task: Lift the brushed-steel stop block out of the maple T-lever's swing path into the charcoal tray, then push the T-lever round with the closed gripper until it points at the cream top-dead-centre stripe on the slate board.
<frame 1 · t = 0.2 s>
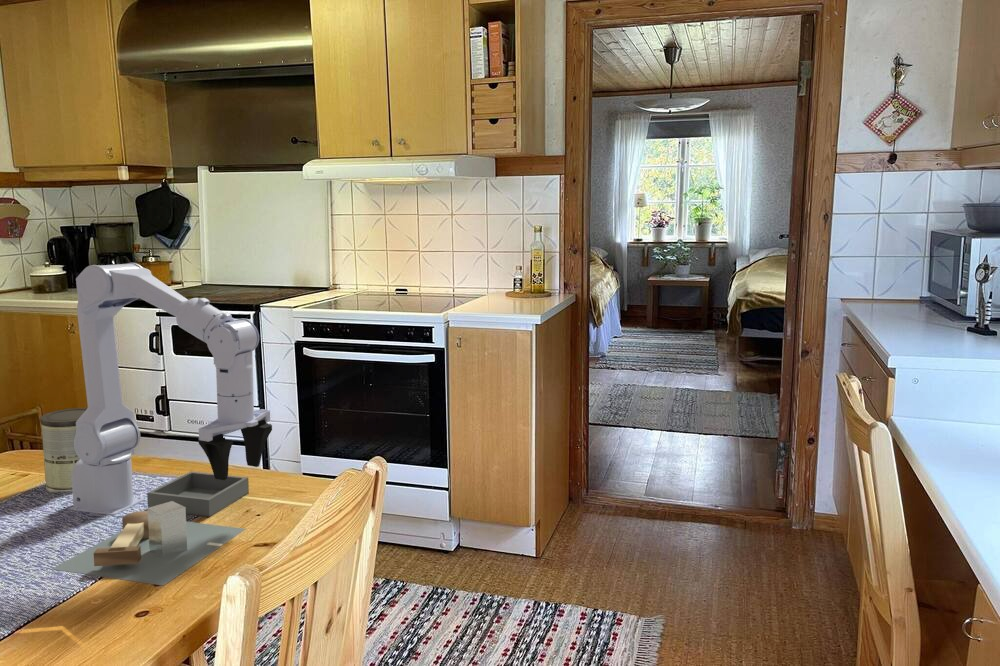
hand: (237, 472, 128), 10 cm above the table, fingers open, 7 cm apart
tray: (200, 503, 141), on the table
crank lever: (130, 538, 120), point 2 cm above the table, hinge at -65.0°
stop block: (168, 550, 120), resting on crank board
coffee can: (75, 485, 149), on the table
crank board: (155, 549, 121), on the table
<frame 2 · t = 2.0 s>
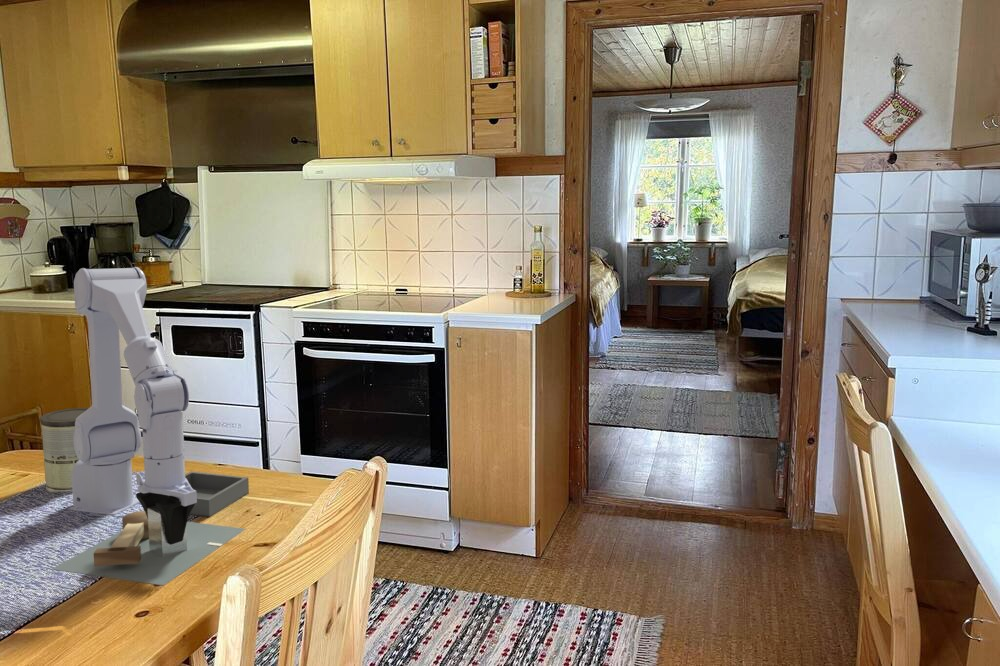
hand: (167, 538, 119), 2 cm above the table, fingers closed on stop block, 4 cm apart
stop block: (168, 550, 120), resting on crank board, touching gripper
everything else where it was.
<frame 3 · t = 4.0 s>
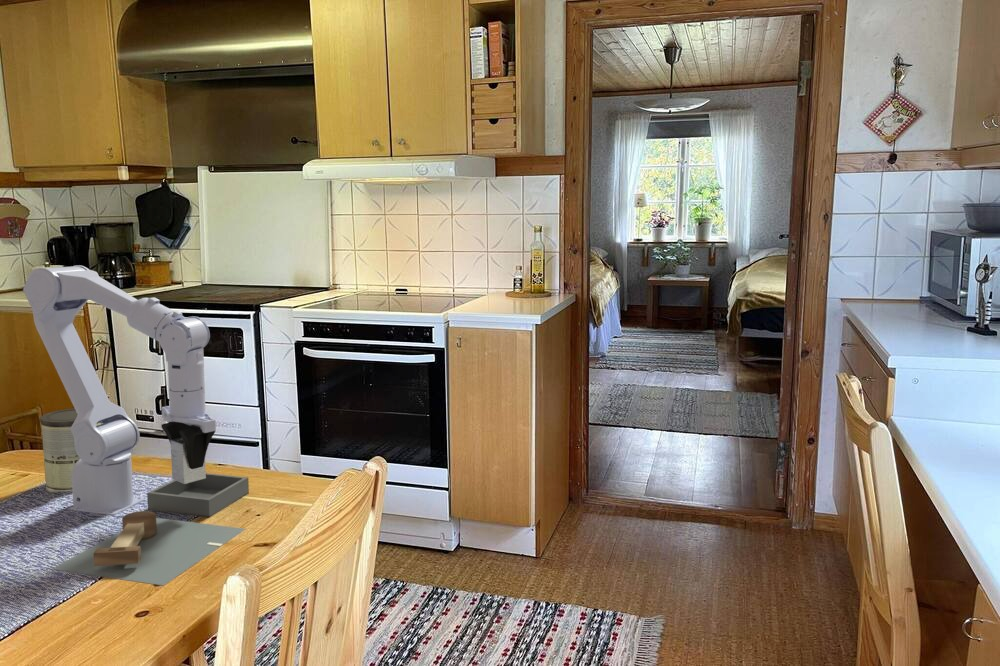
hand: (189, 464, 133), 9 cm above the table, fingers closed on stop block, 4 cm apart
stop block: (189, 478, 133), point 7 cm above the table, touching gripper
everything else where it was.
when the fingers open (4 cm above the table, at t = 5.9 s): stop block stays where it is, resting on tray.
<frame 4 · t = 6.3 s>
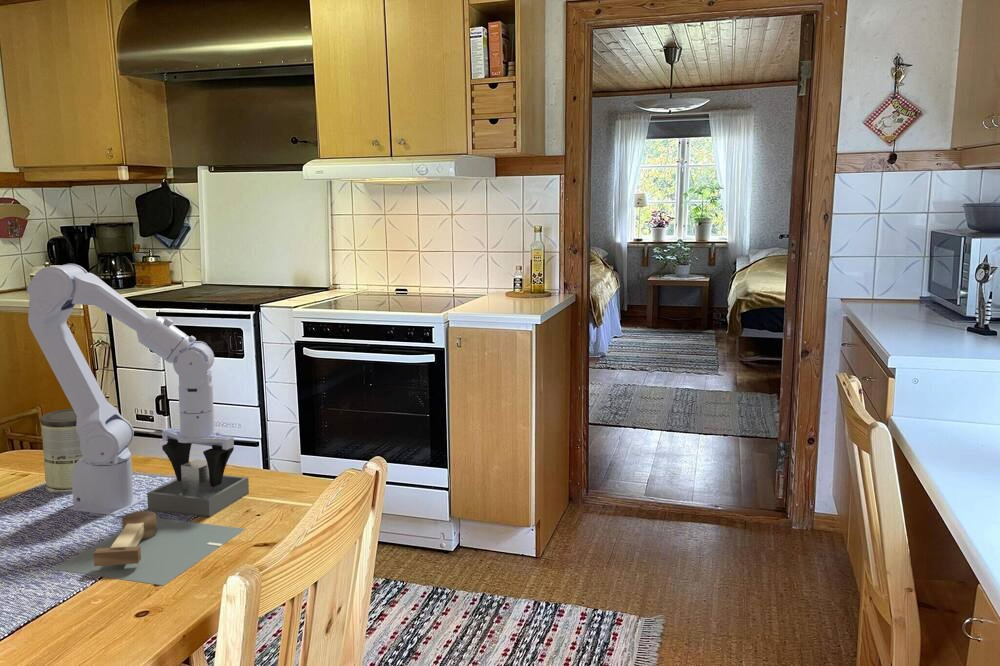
hand: (199, 482, 140), 4 cm above the table, fingers open, 7 cm apart
stop block: (199, 500, 140), point 1 cm above the table, touching tray
everything else where it was.
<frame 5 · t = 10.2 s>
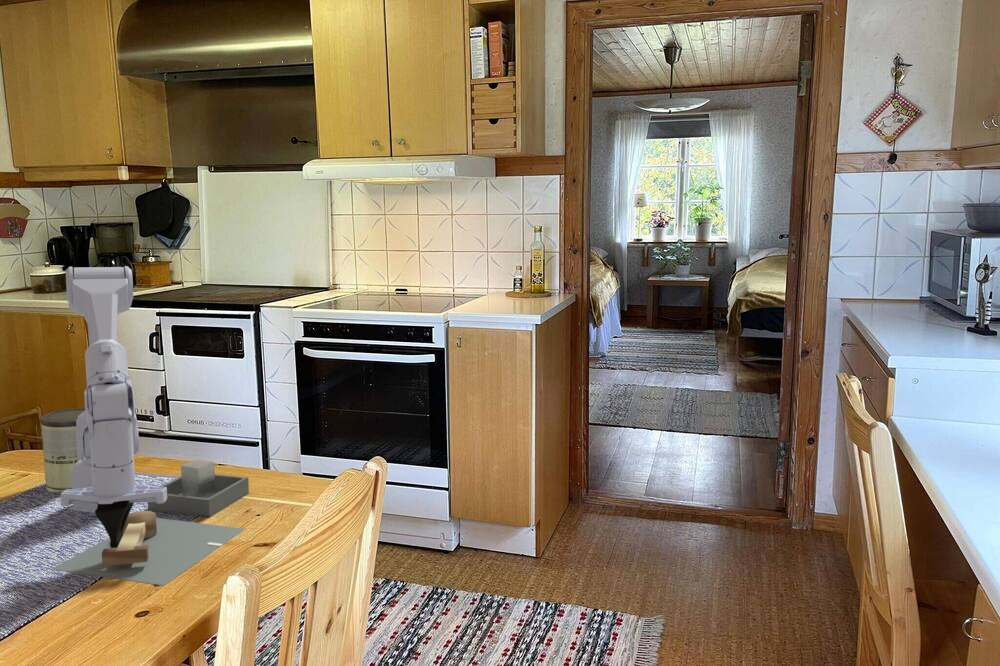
hand: (117, 548, 116), 2 cm above the table, fingers closed, pressing on crank lever
crank lever: (134, 538, 120), point 2 cm above the table, hinge at -60.0°, touching gripper
everything else where it was.
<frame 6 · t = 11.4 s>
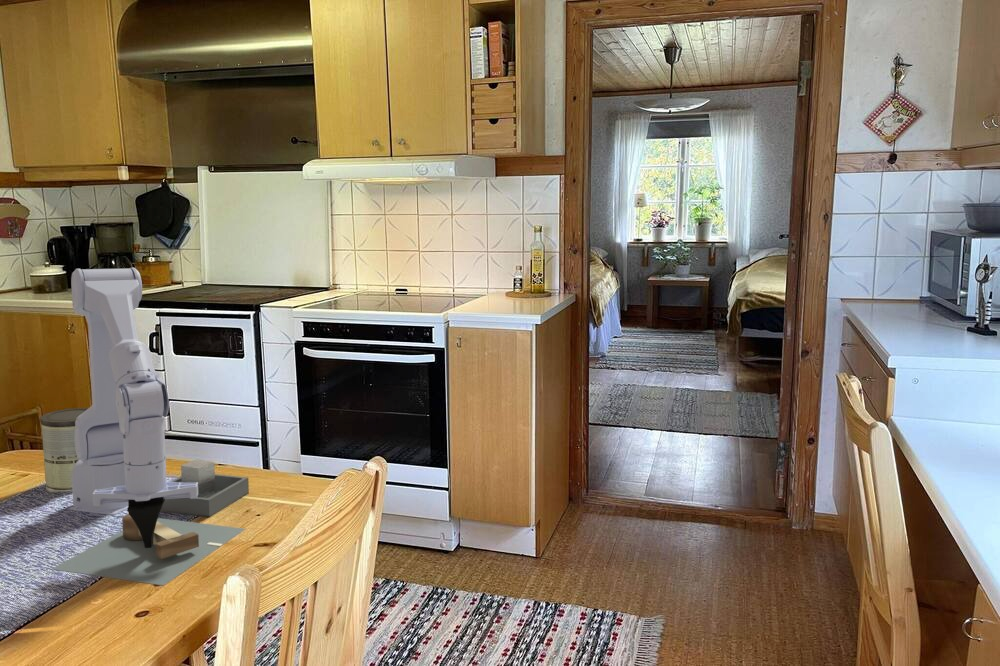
hand: (149, 545, 118), 2 cm above the table, fingers closed
crank lever: (155, 534, 121), point 2 cm above the table, hinge at -26.5°, touching gripper
everything else where it was.
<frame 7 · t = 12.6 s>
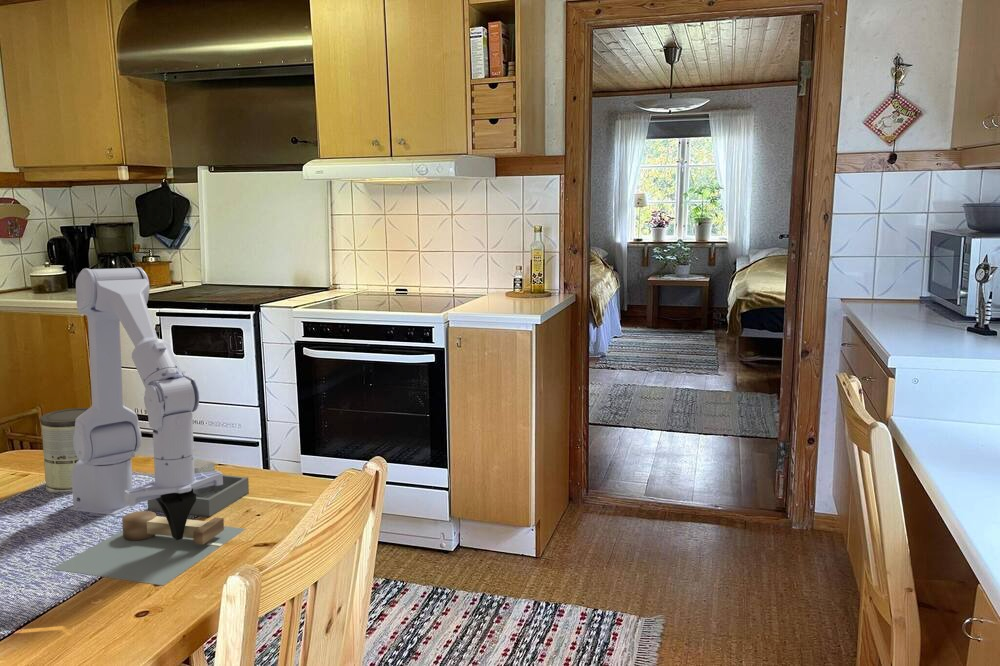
hand: (177, 537, 121), 2 cm above the table, fingers closed
crank lever: (169, 528, 124), point 2 cm above the table, hinge at 2.2°, touching gripper
everything else where it was.
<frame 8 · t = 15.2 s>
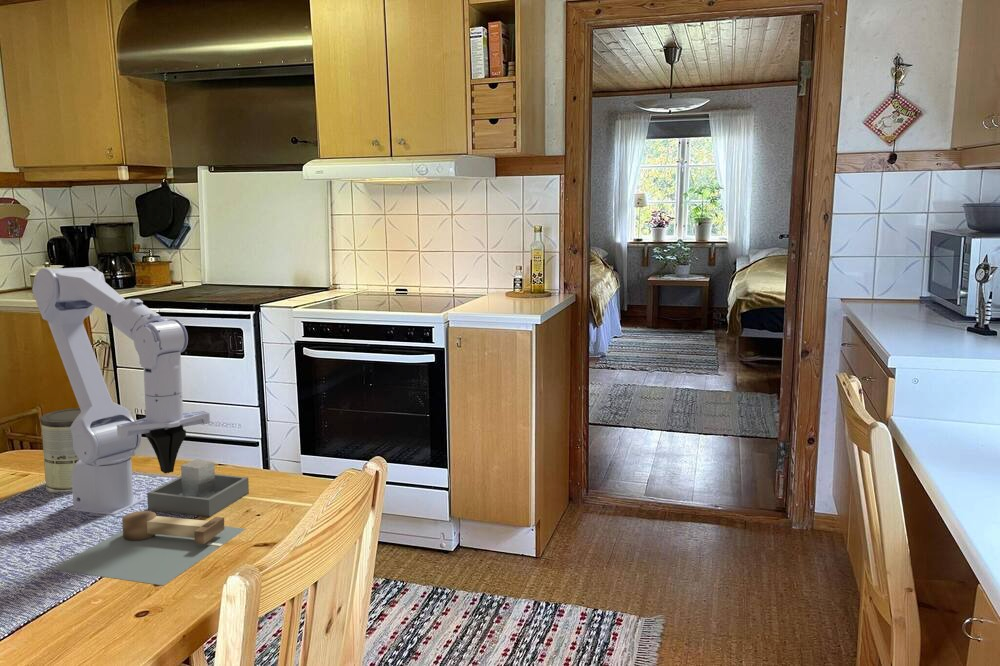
hand: (167, 471, 129), 9 cm above the table, fingers closed
crank lever: (169, 528, 124), point 2 cm above the table, hinge at 3.2°
everything else where it was.
at the end: stop block inside the target area on the tray (0.2 cm from its centre), point 0.6 cm above the tray's base; stop block tilted 0°; crank lever at +3° (first picture: -65°) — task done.
